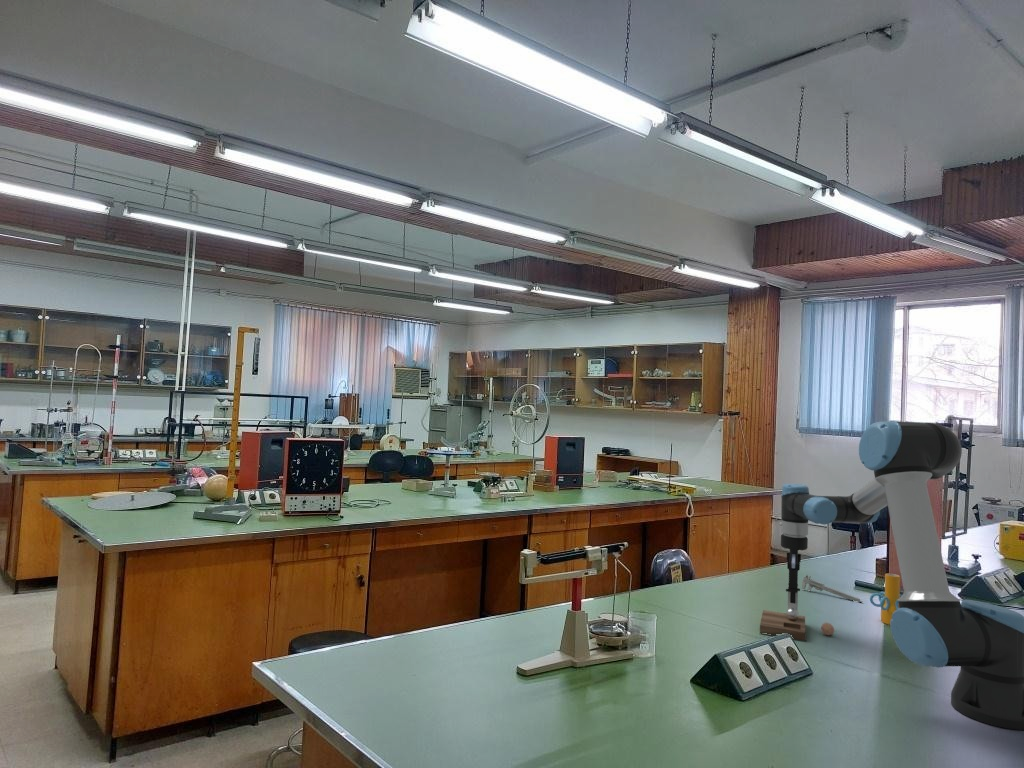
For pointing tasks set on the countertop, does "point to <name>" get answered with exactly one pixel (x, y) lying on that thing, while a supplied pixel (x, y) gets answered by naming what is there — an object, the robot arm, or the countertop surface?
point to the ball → (827, 629)
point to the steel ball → (792, 614)
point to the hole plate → (782, 624)
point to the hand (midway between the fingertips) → (792, 612)
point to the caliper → (825, 588)
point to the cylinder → (888, 597)
